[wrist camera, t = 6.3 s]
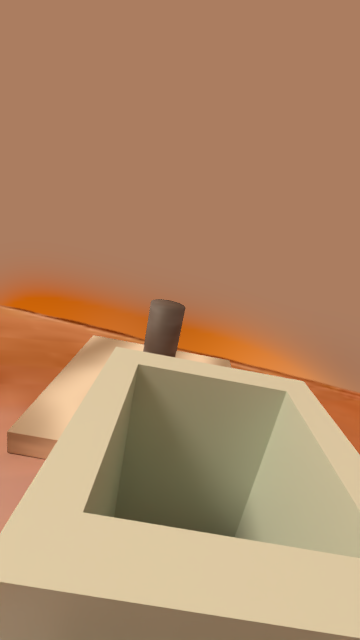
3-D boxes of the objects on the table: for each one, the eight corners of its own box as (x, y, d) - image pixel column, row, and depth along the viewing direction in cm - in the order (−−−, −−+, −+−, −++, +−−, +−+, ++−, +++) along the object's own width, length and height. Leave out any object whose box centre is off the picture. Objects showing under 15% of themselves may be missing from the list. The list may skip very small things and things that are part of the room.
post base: (226, 372, 31) (245, 299, 28) (258, 495, 17) (304, 370, 14) (92, 347, 30) (99, 271, 28) (7, 452, 16) (6, 315, 14)
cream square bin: (231, 574, 12) (303, 381, 9) (272, 903, 6) (518, 663, 3) (89, 551, 12) (116, 346, 9) (-8, 869, 6) (-28, 577, 3)
